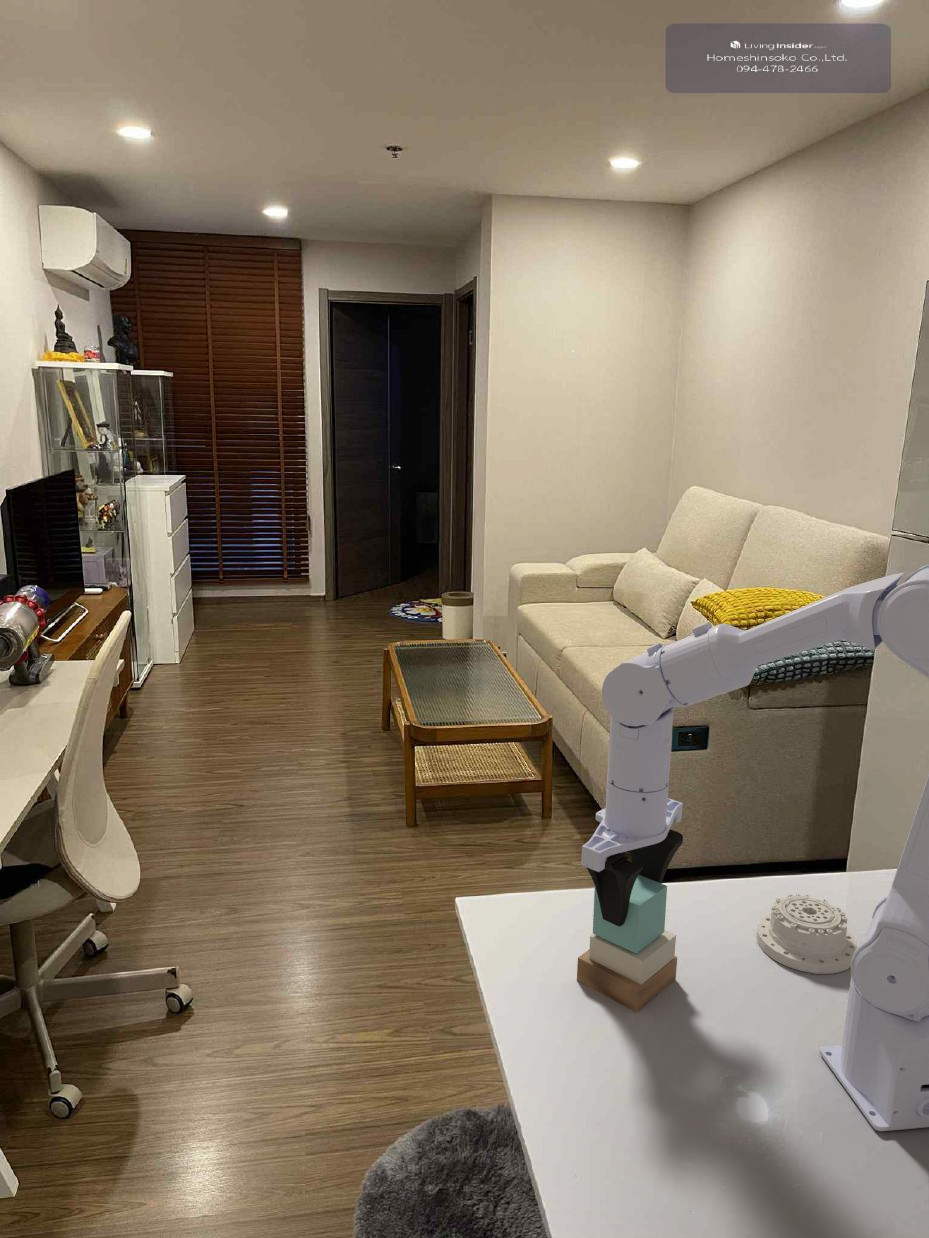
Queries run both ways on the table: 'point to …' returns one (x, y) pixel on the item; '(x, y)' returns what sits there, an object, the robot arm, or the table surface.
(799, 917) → the mechanical component
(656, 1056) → the table surface
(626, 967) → the slab top
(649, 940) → the cube
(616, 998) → the slab base
